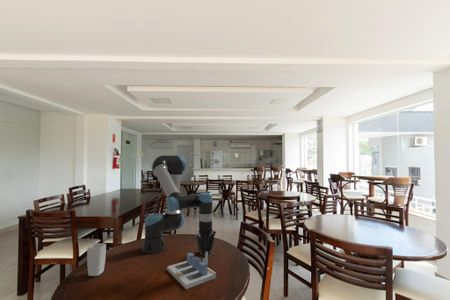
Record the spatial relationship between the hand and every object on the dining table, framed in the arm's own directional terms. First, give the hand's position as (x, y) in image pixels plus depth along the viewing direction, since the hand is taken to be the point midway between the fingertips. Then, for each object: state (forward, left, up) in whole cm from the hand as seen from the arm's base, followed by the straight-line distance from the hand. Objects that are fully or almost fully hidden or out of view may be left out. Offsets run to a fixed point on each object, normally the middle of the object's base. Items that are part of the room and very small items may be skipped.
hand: (205, 262), depth 126 cm
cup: (-30, -50, -4) cm, 59 cm away
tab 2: (0, -6, -1) cm, 6 cm away
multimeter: (-17, +13, -4) cm, 21 cm away
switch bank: (0, -9, -3) cm, 10 cm away
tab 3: (+7, -6, -1) cm, 9 cm away
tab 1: (-7, -6, -1) cm, 9 cm away
